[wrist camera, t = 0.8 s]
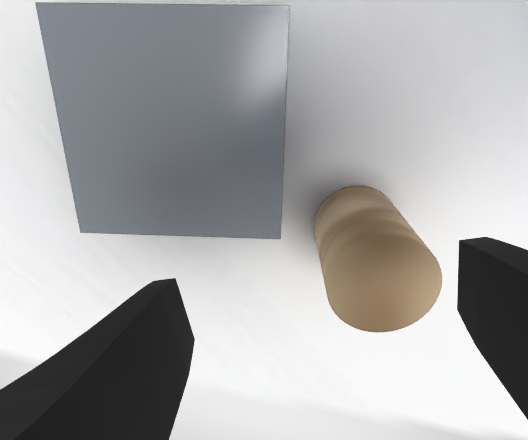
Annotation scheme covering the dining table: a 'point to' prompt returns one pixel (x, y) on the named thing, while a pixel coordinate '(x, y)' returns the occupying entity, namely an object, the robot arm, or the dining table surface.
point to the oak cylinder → (373, 262)
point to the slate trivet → (171, 115)
